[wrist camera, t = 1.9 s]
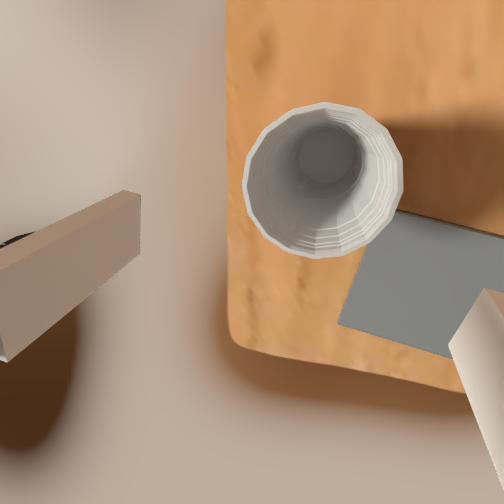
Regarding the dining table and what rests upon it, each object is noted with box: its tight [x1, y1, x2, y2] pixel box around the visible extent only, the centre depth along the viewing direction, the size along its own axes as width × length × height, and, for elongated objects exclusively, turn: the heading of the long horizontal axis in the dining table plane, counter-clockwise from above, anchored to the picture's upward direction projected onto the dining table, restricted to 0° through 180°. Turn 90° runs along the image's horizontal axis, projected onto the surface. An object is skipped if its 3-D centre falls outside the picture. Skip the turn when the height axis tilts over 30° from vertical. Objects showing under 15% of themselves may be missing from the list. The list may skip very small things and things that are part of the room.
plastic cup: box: [242, 102, 403, 259], centre depth 28 cm, size 11×11×12 cm
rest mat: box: [338, 210, 504, 359], centre depth 36 cm, size 15×15×1 cm
